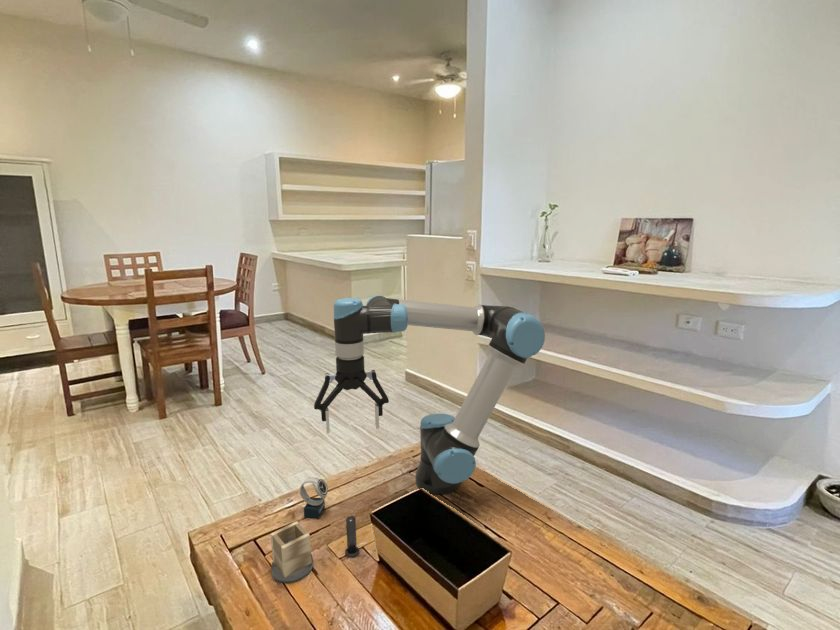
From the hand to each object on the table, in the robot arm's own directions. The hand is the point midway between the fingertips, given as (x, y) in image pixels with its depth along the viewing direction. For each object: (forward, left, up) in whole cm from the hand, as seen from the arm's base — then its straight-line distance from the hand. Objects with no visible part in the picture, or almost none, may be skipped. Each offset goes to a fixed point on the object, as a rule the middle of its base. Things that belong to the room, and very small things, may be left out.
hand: (353, 429), depth 123 cm
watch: (+12, -6, -29) cm, 32 cm away
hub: (+17, +15, -29) cm, 37 cm away
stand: (+2, +13, -29) cm, 32 cm away
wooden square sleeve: (+17, +15, -27) cm, 35 cm away
